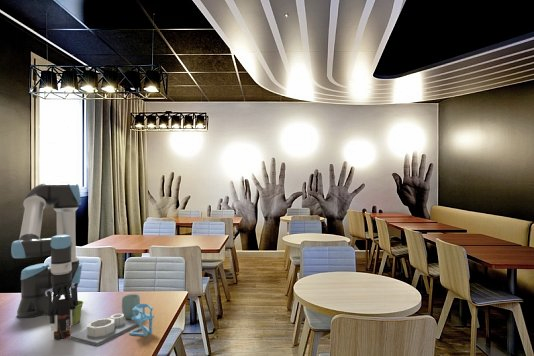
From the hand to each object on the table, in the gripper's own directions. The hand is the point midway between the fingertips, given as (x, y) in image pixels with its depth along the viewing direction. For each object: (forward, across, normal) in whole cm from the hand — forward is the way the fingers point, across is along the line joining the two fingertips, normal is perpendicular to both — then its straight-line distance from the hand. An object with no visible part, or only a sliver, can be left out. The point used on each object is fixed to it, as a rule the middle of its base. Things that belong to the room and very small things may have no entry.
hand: (62, 327), depth 148 cm
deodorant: (+4, 0, 0) cm, 4 cm away
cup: (+4, +27, -11) cm, 29 cm away
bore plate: (+4, +11, -13) cm, 17 cm away
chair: (+4, +16, -29) cm, 33 cm away
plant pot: (+4, +12, +10) cm, 16 cm away
